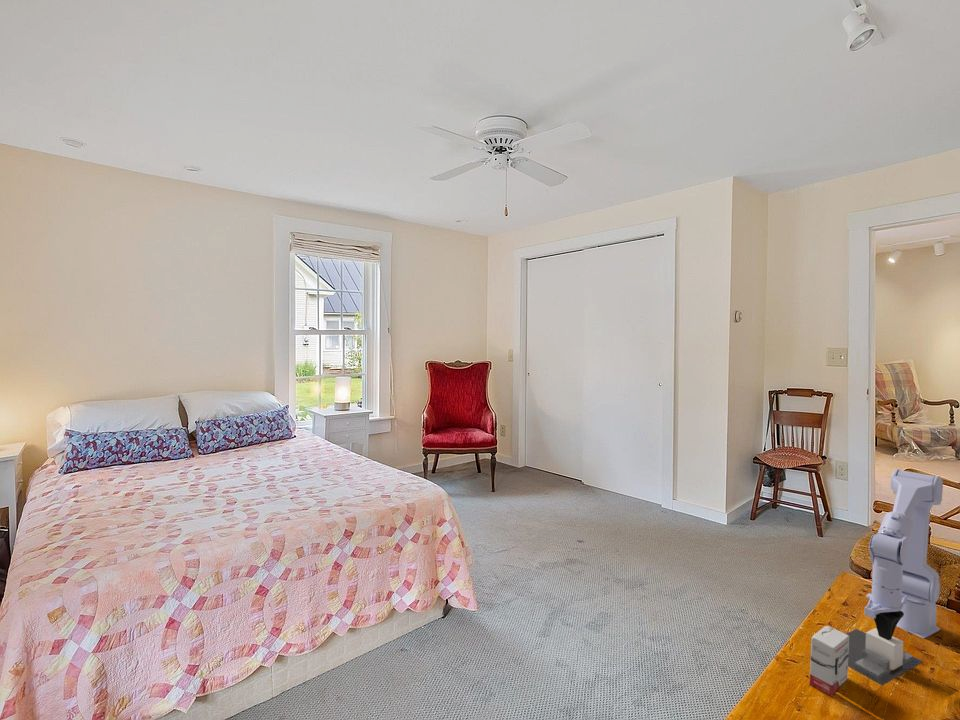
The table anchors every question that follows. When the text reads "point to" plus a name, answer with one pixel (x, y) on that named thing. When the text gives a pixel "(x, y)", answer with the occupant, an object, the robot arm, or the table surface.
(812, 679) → the ink box
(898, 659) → the block
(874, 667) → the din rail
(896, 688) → the table surface
